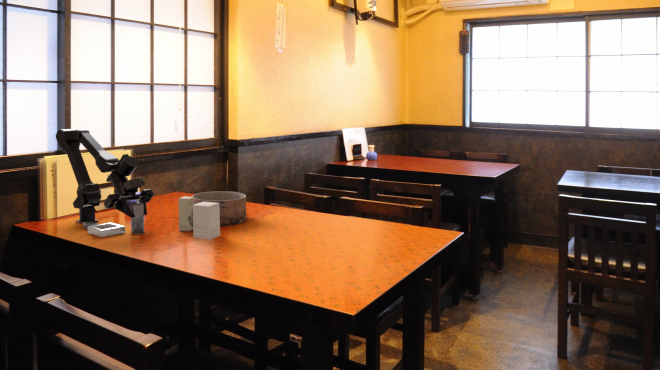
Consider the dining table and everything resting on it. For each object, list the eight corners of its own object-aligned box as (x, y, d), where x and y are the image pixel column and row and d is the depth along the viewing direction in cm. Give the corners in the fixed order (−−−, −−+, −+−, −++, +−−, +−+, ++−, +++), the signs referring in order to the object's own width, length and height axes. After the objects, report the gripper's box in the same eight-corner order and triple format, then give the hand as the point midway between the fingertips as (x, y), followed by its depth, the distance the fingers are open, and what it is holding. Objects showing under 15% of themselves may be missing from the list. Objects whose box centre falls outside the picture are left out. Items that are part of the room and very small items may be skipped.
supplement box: (220, 235, 202) (220, 202, 200) (210, 240, 195) (209, 206, 193) (203, 233, 204) (203, 201, 202) (192, 238, 197) (192, 204, 196)
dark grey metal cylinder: (128, 232, 203) (127, 202, 201) (139, 230, 206) (138, 201, 205) (136, 234, 200) (135, 204, 198) (146, 232, 204) (145, 202, 202)
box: (188, 231, 207) (188, 198, 205) (178, 230, 207) (177, 198, 205) (194, 228, 212) (194, 196, 210) (184, 227, 212) (184, 196, 210)
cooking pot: (207, 212, 243) (206, 189, 242) (254, 214, 240) (254, 191, 239) (179, 227, 214) (179, 200, 212) (233, 230, 211) (233, 203, 209)
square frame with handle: (73, 228, 206) (73, 222, 206) (96, 224, 214) (96, 218, 214) (101, 237, 195) (101, 230, 195) (125, 232, 203) (124, 226, 202)
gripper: (106, 172, 195) (125, 206, 190) (151, 168, 209) (169, 199, 205) (95, 191, 200) (113, 225, 196) (139, 186, 215) (157, 217, 211)
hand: (139, 216), depth 201 cm, fingers open, 6 cm apart
